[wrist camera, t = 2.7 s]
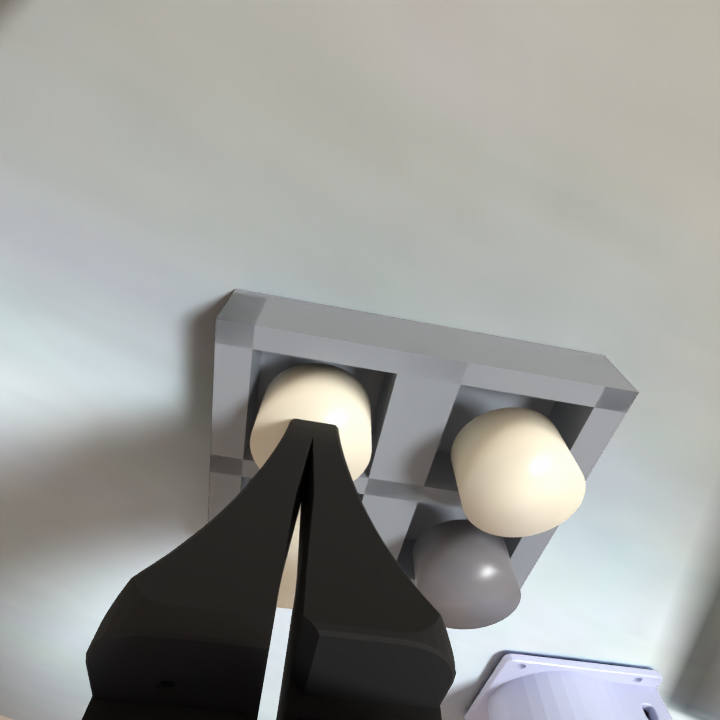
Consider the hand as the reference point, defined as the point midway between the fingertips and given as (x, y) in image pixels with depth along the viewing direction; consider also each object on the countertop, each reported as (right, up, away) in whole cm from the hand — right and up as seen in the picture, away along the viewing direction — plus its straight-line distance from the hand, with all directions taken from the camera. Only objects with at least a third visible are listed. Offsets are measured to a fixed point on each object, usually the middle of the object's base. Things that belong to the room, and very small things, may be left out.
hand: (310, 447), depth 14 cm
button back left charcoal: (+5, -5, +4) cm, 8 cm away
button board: (+3, -1, +5) cm, 6 cm away
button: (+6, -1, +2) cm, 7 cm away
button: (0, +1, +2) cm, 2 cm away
